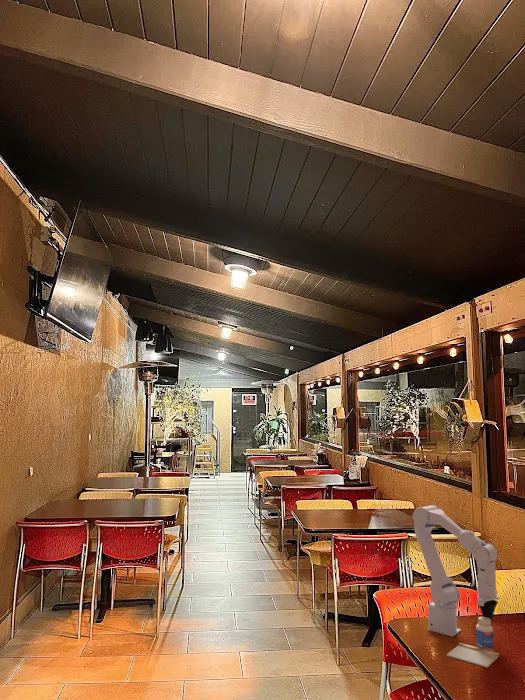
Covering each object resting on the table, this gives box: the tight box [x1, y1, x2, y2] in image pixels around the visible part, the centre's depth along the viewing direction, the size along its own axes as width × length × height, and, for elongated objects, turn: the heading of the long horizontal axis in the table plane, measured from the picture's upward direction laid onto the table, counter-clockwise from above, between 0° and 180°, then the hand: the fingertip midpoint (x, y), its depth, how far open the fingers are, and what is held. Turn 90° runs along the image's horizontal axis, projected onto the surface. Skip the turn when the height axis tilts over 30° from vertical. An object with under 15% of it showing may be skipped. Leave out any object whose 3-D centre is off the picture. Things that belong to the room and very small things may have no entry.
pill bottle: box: [475, 616, 494, 652], centre depth 188 cm, size 6×5×10 cm
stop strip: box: [457, 642, 500, 658], centre depth 186 cm, size 13×1×1 cm, turn 49°
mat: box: [446, 644, 499, 669], centre depth 182 cm, size 13×10×1 cm
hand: (488, 622), depth 191 cm, fingers closed
